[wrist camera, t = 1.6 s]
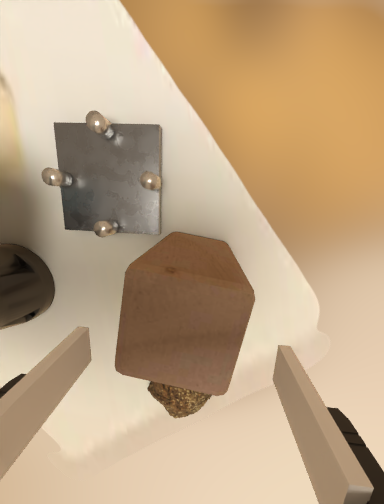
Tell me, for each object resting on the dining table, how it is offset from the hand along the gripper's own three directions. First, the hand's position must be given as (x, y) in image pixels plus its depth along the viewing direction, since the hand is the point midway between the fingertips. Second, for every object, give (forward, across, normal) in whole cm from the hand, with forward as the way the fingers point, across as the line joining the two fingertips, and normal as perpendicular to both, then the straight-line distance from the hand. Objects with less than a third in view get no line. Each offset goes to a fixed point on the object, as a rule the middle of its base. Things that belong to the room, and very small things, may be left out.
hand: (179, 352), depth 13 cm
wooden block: (+22, 0, 0) cm, 22 cm away
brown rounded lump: (+22, -3, -26) cm, 34 cm away
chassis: (+21, -14, +13) cm, 29 cm away
